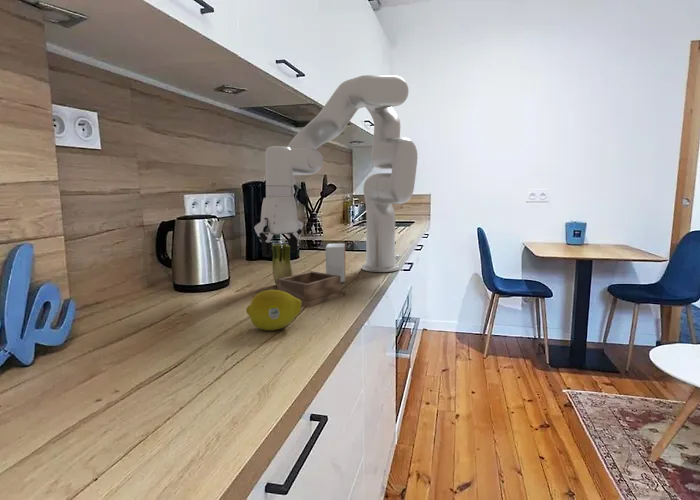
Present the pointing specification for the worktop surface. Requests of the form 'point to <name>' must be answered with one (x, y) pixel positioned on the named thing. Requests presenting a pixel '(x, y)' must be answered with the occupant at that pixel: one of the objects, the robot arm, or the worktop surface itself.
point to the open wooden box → (312, 287)
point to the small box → (335, 260)
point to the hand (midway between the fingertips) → (280, 254)
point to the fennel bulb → (281, 261)
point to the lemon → (273, 309)
